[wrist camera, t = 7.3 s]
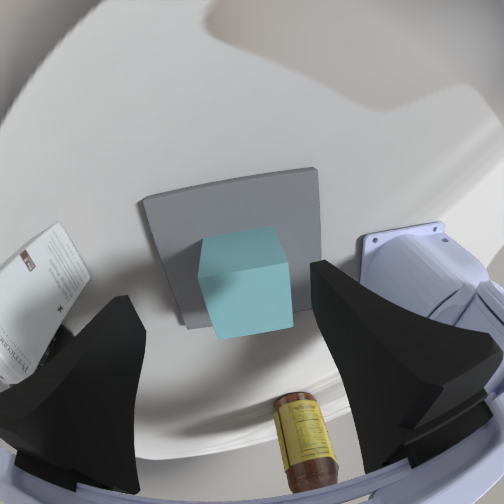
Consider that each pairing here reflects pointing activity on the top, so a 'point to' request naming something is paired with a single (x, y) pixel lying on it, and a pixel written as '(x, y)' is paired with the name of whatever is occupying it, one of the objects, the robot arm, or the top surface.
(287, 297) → the teal cube
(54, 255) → the skincare box
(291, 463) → the sauce bottle
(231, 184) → the rubber mat
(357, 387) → the robot arm
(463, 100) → the top surface
